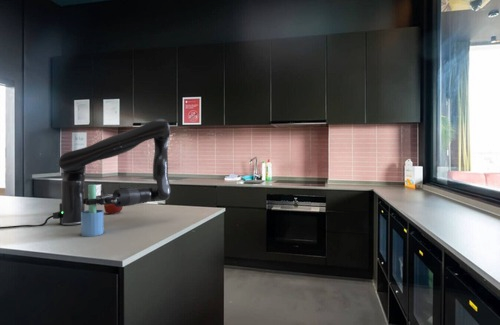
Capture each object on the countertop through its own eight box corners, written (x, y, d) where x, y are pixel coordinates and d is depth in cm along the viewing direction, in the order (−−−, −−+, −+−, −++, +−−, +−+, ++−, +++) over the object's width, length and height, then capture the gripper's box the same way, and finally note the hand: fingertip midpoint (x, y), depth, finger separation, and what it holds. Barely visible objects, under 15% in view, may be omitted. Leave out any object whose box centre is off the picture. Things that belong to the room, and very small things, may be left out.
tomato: (102, 213, 168) (102, 198, 168) (120, 211, 174) (119, 196, 174) (106, 215, 161) (106, 200, 161) (124, 213, 167) (124, 198, 166)
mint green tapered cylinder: (87, 225, 124) (86, 185, 123) (91, 223, 127) (90, 184, 126) (93, 225, 124) (93, 185, 123) (98, 223, 126) (97, 184, 126)
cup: (76, 236, 122) (76, 213, 121) (89, 231, 130) (89, 209, 129) (95, 236, 121) (95, 213, 120) (107, 231, 129) (107, 210, 128)
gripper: (119, 187, 140) (77, 191, 127) (134, 189, 130) (91, 194, 118) (119, 204, 140) (78, 209, 127) (134, 207, 131) (91, 213, 118)
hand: (84, 201), depth 123 cm, fingers closed on mint green tapered cylinder, 2 cm apart
